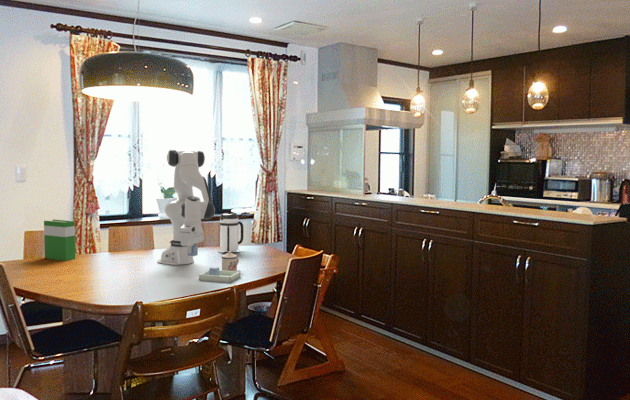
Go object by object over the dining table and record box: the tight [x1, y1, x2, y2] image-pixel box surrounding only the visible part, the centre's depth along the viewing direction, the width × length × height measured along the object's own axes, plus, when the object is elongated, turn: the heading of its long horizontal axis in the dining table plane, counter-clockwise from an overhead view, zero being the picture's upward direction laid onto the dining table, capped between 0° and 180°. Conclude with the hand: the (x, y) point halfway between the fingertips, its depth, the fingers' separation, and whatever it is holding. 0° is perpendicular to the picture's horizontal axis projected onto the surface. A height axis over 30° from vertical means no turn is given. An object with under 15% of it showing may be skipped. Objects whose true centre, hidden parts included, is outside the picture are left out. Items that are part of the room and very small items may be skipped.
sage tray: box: [198, 269, 241, 284], centre depth 299 cm, size 18×14×3 cm
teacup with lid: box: [221, 251, 240, 272], centre depth 318 cm, size 12×9×12 cm
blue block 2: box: [208, 266, 220, 276], centre depth 299 cm, size 4×4×5 cm
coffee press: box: [217, 209, 244, 254], centre depth 376 cm, size 17×16×30 cm
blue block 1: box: [187, 245, 199, 257], centre depth 297 cm, size 4×4×5 cm
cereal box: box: [43, 219, 76, 262], centre depth 344 cm, size 18×7×24 cm, turn 68°
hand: (192, 252), depth 297 cm, fingers closed on blue block 1, 4 cm apart
